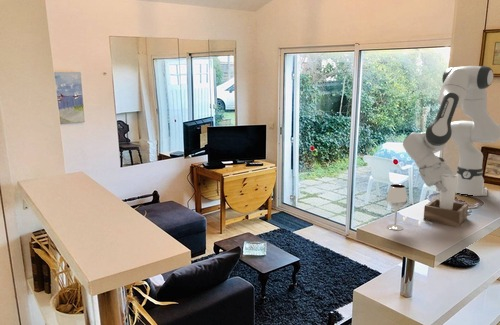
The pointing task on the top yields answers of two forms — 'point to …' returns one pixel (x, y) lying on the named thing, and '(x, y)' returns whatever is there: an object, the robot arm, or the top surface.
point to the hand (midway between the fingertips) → (449, 190)
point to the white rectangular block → (448, 191)
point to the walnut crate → (445, 213)
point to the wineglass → (396, 201)
